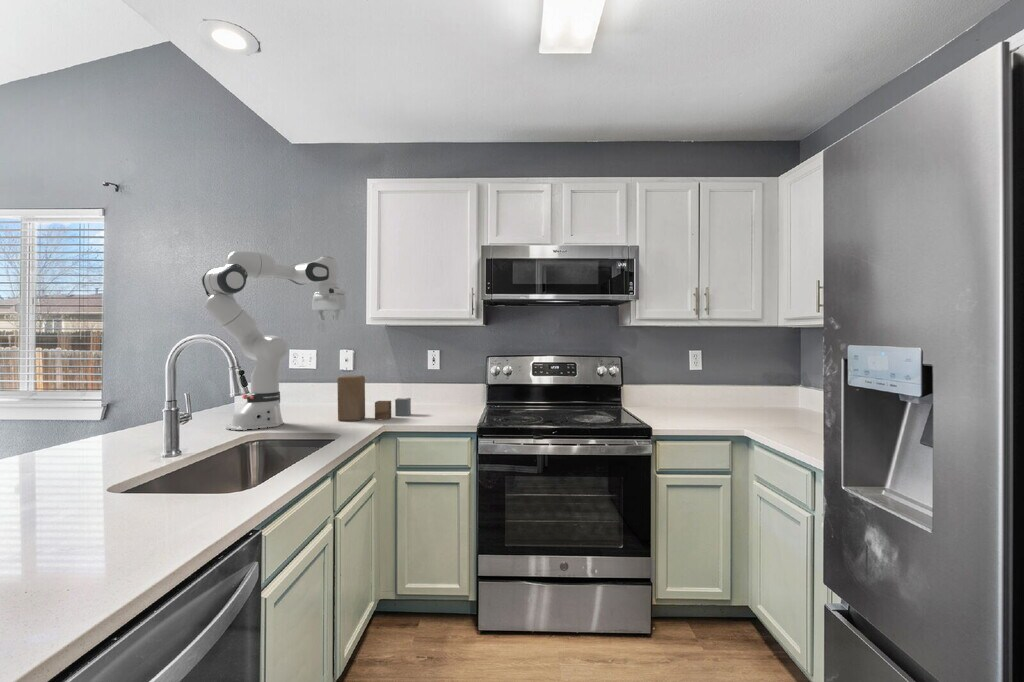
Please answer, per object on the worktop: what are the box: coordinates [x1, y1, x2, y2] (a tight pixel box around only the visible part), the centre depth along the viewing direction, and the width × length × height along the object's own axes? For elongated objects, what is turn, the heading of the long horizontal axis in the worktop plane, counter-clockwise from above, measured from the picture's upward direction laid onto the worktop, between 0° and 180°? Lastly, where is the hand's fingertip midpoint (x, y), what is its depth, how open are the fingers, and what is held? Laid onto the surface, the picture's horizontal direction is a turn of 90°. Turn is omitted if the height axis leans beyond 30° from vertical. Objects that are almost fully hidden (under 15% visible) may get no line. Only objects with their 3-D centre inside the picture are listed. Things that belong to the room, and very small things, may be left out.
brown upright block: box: [374, 400, 392, 421], centre depth 240 cm, size 6×6×8 cm
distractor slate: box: [394, 397, 412, 417], centre depth 250 cm, size 6×6×8 cm
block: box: [336, 374, 366, 422], centre depth 238 cm, size 10×10×20 cm
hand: (328, 319), depth 249 cm, fingers open, 8 cm apart
